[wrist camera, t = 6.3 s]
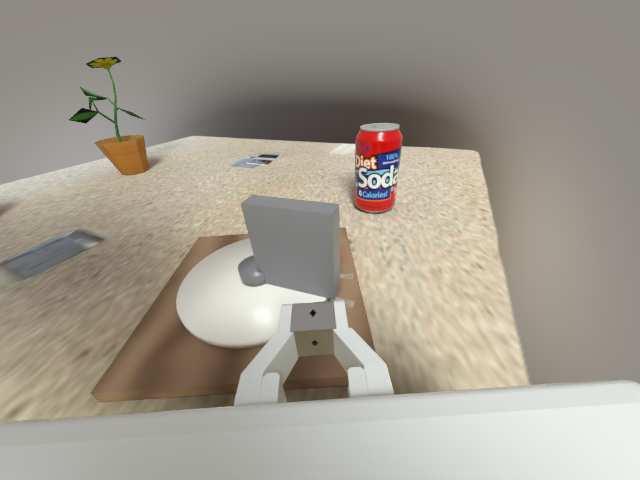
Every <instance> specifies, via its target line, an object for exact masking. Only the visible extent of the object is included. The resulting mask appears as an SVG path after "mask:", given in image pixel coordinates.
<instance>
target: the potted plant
mask: <svg viewBox="0 0 640 480" xmlns="http://www.w3.org/2000/svg"><path fill="white" fill-rule="evenodd" d="M119 62H121V61H120V60H119V59H118V58H117V57H110V58H98V59H96V60H94V61H91V62H89V63H87V65H88V66H90V67H91V68H99V67H102V68H104V69H107V70H108V71H109V69H110V67H111V66H112V65H114V64H116V63H119ZM109 74H110V71H109ZM110 77H111V80H112V84H113V90H114V96H115V100H114V104H113V103H112V102H111V101H110V100H109V101H110V102H111V103H112V104H113V105H114V119H115V121H113V120H111V119H110V118H108V117H107V116H105V115H103V114H102V113H100V112H99V111H98V109H97V108H96V106H95V104H94V103H93V104H94V106H95V108H96V110H97V111H92V110H91V105H92V102H93V101H94V100H104V99H108V98H105V97H102V96H99V95H96V94H93V93H91V92H89V91H87V90H85V89H83V88H81V87H80V88H81V89H82V91H83V92H84V94H85V95H86V96H93V97H97V98H91V97H89V107H90V110H88V109H84V108H82V109H80V110H79V111H78V112H77V113H76V114H75V115H74V116H73V117H71V119H69V120H71V121H77V122H82V123H87V122H88V121H89V120H91V119H92V118H93V117H94V116H95V115H96V114H97V113H99V114H101V115H102V116H104V117H105V118H107V119H108V120H110V121H111V122H113V123H115V129H116V135H117V137H113V138H109V139H104V140H100V141H98V142H96V143H95V144H96V145H97V146H98V147H99V149H100V150H101V151H102V152H103V153H104V154H105V155H106V157H107V158H108V159H109V160H110V161H111V162H112V163H113V165H114V166H115V167H116V168H117V169H118V170H119V171H120V172H121V174H122V175H135V174H139V173H143V172H145V171H147V170H148V163H147V156H146V149H145V141H144V136H142V135H130V136H121V137H120V135H119V131H118V126H117V110H118V109H119V108H118V107H117V106H116V91H115V85H114V81H113V79H112V76H111V74H110ZM120 110H122V109H120ZM122 111H124V112H126V113H128V114H130V115H132V116H135V117H138V118H141V117H139V116H137V115H136V114H134V113H132V112H129V111H126V110H122ZM141 119H143V118H141Z"/></svg>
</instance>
